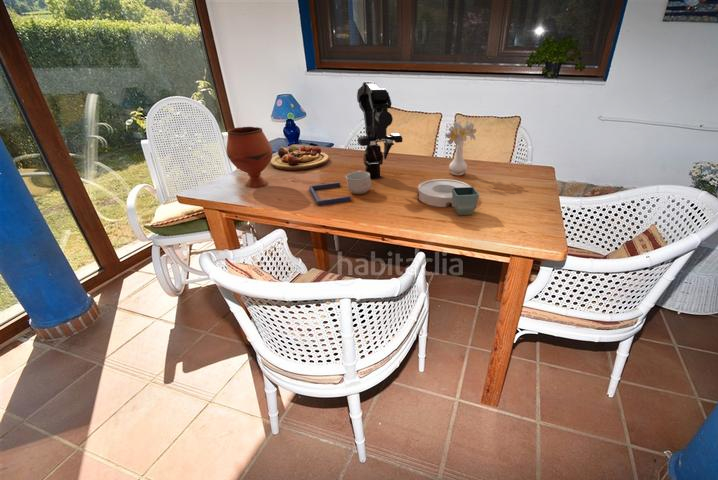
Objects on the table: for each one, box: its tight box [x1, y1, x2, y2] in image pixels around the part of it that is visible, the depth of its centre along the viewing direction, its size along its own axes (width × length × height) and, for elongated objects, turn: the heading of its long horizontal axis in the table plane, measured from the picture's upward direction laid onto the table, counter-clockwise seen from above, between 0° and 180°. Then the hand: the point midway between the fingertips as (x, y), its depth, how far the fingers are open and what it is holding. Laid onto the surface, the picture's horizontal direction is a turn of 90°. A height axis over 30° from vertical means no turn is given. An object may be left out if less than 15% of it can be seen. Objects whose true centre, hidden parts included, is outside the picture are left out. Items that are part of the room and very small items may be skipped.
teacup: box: [345, 170, 372, 195], centre depth 159 cm, size 14×11×8 cm
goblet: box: [226, 126, 273, 188], centre depth 163 cm, size 19×19×25 cm
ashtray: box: [417, 178, 472, 208], centre depth 154 cm, size 23×23×4 cm
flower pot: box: [452, 186, 480, 216], centre depth 138 cm, size 9×9×9 cm
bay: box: [308, 181, 352, 206], centre depth 157 cm, size 14×20×2 cm
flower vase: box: [444, 119, 477, 176], centre depth 174 cm, size 13×18×25 cm
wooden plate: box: [269, 144, 330, 171], centre depth 197 cm, size 32×32×8 cm
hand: (380, 159), depth 158 cm, fingers open, 4 cm apart
